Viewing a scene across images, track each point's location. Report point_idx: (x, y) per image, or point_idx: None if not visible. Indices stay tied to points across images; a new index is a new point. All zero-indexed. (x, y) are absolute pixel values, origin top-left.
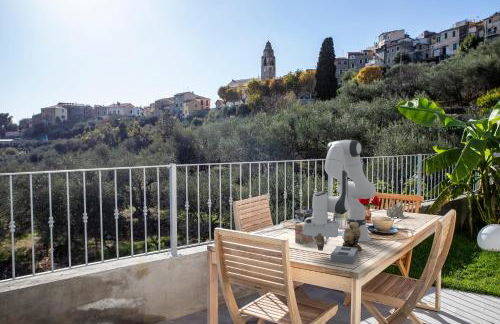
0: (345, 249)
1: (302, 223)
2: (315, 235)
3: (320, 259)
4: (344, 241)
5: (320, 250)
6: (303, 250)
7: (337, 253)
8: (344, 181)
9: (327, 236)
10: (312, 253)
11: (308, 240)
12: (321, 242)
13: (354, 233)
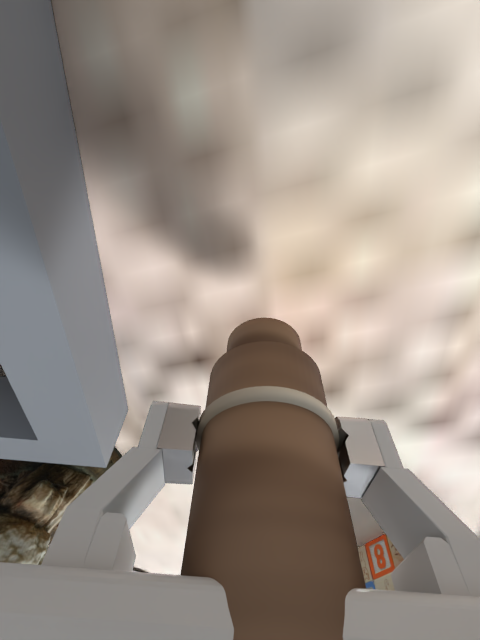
0: (8, 419)
1: None
2: (426, 612)
3: (245, 124)
4: (33, 530)
5: (260, 320)
6: (435, 416)
7: None
8: None
9: (31, 578)
10: (353, 354)
11: (366, 558)
12: (239, 416)
13: None
